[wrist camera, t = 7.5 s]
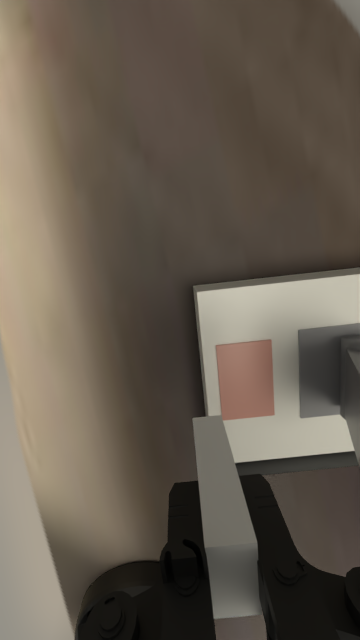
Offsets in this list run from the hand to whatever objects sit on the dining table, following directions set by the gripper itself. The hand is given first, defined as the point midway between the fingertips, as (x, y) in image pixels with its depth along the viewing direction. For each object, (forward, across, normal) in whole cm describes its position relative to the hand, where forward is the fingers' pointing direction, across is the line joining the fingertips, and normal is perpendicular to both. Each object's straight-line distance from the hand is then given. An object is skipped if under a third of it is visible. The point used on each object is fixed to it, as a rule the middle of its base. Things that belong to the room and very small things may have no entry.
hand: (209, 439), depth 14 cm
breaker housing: (+11, -11, 0) cm, 16 cm away
